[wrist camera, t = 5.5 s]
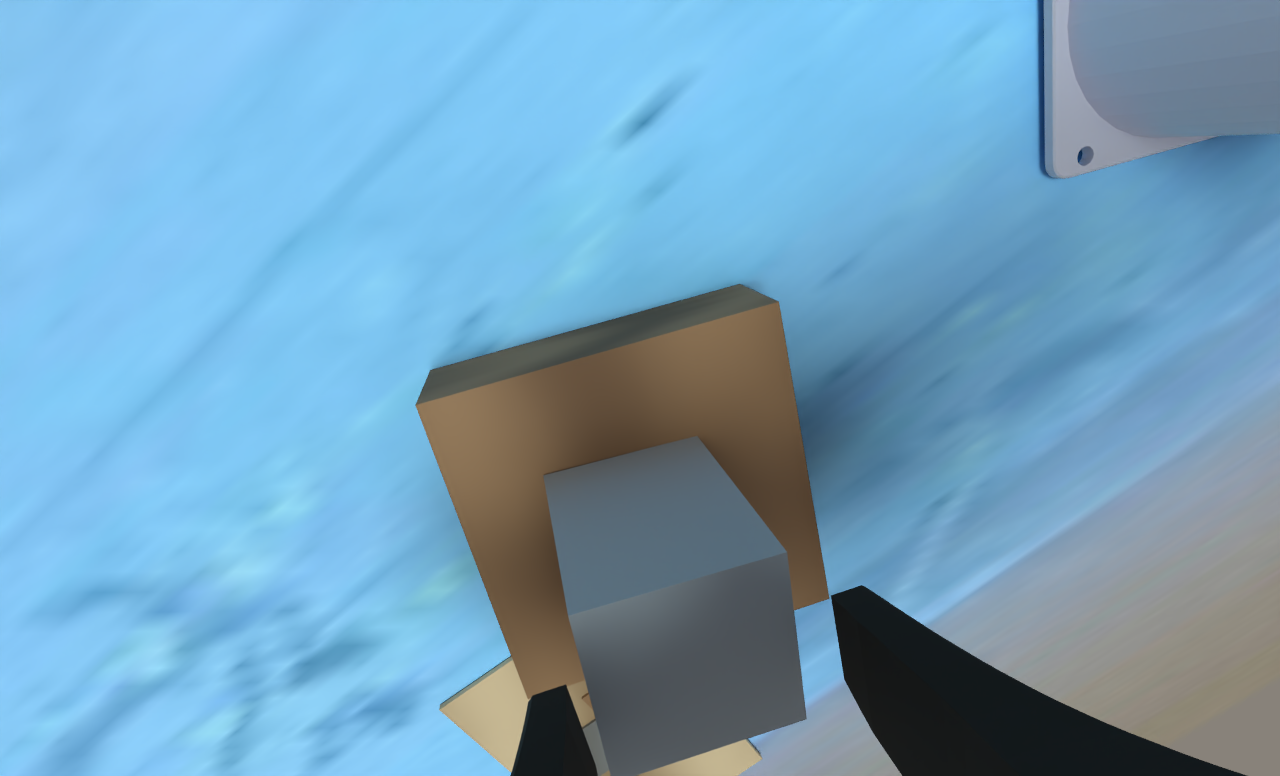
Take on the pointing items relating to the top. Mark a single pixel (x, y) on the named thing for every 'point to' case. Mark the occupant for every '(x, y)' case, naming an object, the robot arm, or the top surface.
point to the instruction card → (501, 707)
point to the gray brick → (674, 605)
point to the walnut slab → (615, 445)
